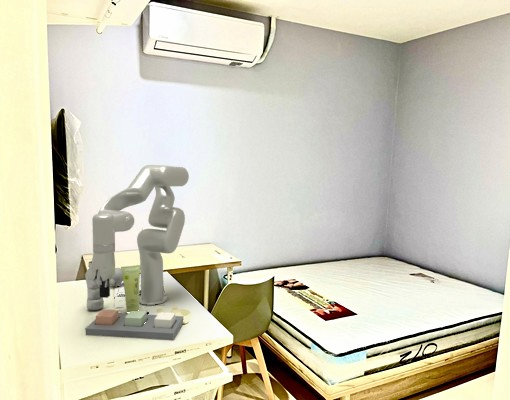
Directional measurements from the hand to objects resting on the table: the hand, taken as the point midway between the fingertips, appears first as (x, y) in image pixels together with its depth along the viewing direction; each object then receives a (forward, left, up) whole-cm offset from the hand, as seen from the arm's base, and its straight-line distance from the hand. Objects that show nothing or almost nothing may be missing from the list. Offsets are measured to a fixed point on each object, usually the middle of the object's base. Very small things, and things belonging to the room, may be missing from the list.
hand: (104, 296), depth 151 cm
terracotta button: (-1, 0, -10) cm, 10 cm away
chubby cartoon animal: (-44, -13, -13) cm, 47 cm away
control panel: (-1, +11, -12) cm, 17 cm away
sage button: (-1, +11, -10) cm, 15 cm away
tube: (-15, +4, -12) cm, 20 cm away
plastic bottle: (-16, -12, -12) cm, 23 cm away
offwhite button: (-1, +22, -10) cm, 24 cm away
